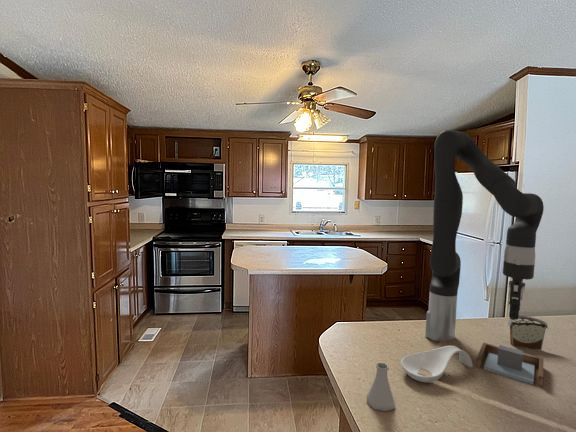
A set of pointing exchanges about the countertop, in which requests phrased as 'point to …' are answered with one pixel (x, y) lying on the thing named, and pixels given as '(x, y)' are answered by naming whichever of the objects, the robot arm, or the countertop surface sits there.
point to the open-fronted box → (526, 358)
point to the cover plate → (509, 371)
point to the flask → (381, 390)
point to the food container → (527, 332)
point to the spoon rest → (432, 362)
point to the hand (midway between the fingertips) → (514, 314)
